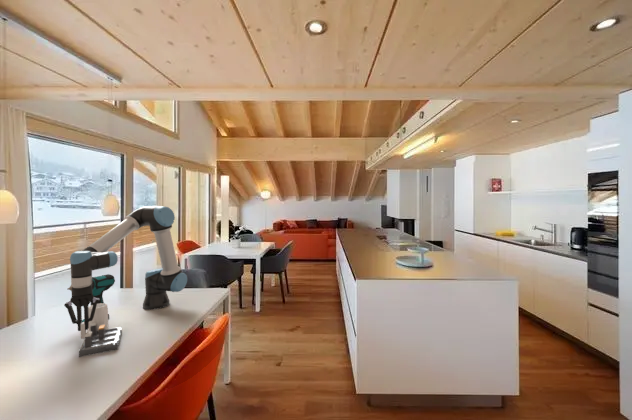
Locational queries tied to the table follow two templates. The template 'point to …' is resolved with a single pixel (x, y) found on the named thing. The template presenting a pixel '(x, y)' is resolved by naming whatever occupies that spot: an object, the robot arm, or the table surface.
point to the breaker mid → (101, 331)
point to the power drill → (100, 286)
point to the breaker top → (88, 339)
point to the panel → (102, 342)
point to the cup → (99, 316)
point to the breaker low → (94, 328)
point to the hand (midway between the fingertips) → (83, 337)
